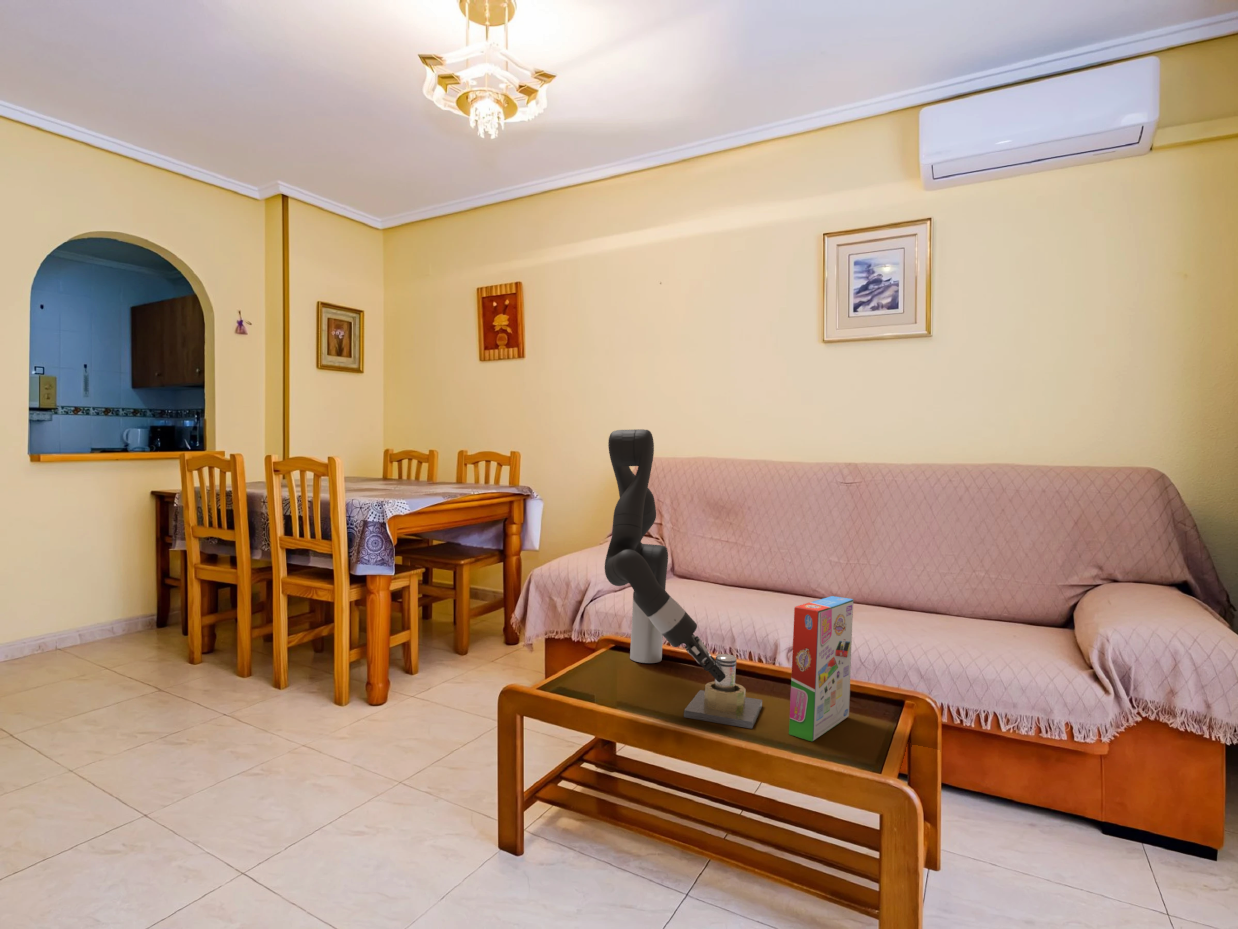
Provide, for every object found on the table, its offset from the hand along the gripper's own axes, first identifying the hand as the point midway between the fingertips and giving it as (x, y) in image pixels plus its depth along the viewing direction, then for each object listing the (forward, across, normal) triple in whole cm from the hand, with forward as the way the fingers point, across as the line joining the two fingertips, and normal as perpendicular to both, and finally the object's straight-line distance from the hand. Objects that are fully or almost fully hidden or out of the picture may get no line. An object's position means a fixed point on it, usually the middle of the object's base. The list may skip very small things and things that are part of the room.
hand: (719, 673), depth 153 cm
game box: (+21, -6, -9) cm, 24 cm away
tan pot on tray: (+7, 0, +5) cm, 9 cm away
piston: (+6, 0, +4) cm, 7 cm away
